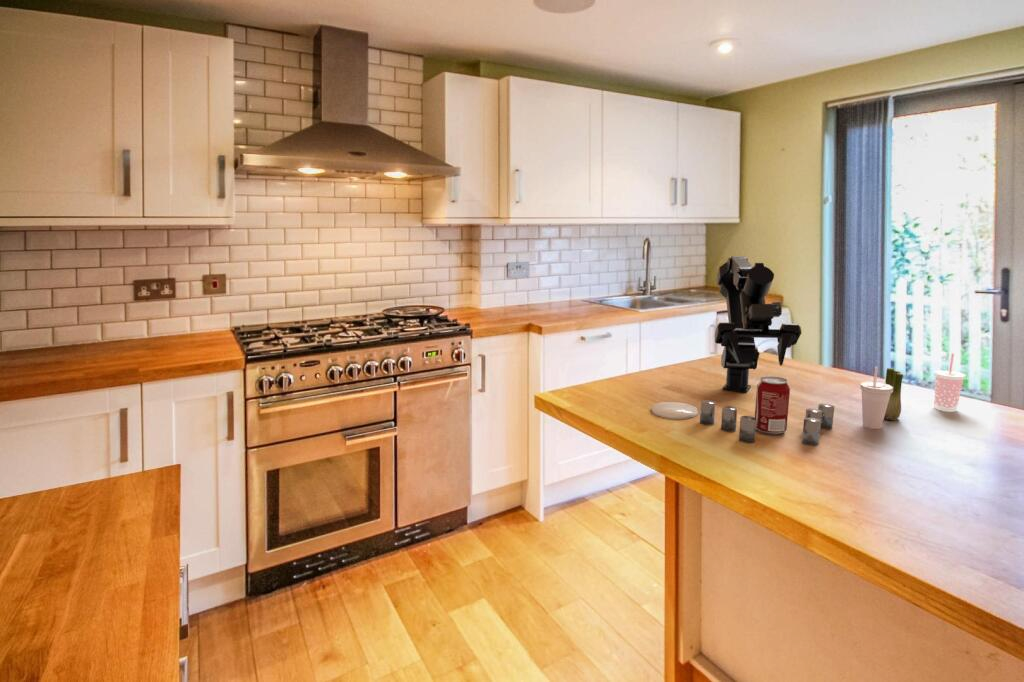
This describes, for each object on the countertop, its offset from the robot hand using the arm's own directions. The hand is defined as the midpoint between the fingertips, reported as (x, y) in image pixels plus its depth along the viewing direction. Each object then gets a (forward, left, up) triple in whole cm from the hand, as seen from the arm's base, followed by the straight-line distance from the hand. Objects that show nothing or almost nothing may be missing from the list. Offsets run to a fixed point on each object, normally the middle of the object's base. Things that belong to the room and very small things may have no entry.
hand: (760, 364), depth 142 cm
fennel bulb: (-15, +27, -14) cm, 34 cm away
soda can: (+7, +4, -14) cm, 16 cm away
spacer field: (+8, +5, -13) cm, 16 cm away
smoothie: (-7, +24, -14) cm, 28 cm away
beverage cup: (-30, +39, -14) cm, 51 cm away
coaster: (+5, -18, -13) cm, 23 cm away
